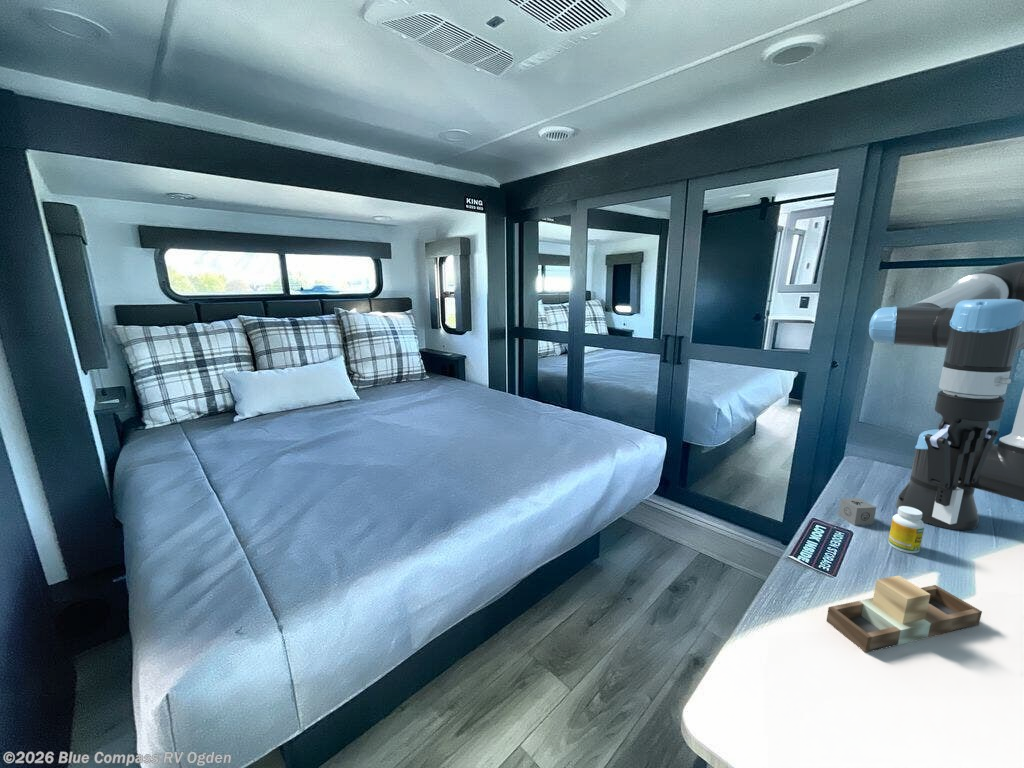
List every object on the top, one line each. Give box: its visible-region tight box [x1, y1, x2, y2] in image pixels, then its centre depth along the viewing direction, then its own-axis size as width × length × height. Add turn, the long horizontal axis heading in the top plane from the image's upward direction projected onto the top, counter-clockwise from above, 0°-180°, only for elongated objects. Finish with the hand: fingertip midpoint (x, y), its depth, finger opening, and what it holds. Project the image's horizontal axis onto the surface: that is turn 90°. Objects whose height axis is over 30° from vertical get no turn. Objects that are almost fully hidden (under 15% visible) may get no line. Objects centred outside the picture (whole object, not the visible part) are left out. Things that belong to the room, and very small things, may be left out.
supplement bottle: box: [887, 506, 925, 554], centre depth 95 cm, size 5×5×10 cm
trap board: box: [826, 584, 983, 653], centre depth 74 cm, size 25×7×3 cm, turn 101°
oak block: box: [872, 575, 931, 624], centre depth 73 cm, size 5×5×5 cm
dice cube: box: [838, 497, 877, 527], centre depth 107 cm, size 5×5×5 cm
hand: (944, 519), depth 73 cm, fingers closed
